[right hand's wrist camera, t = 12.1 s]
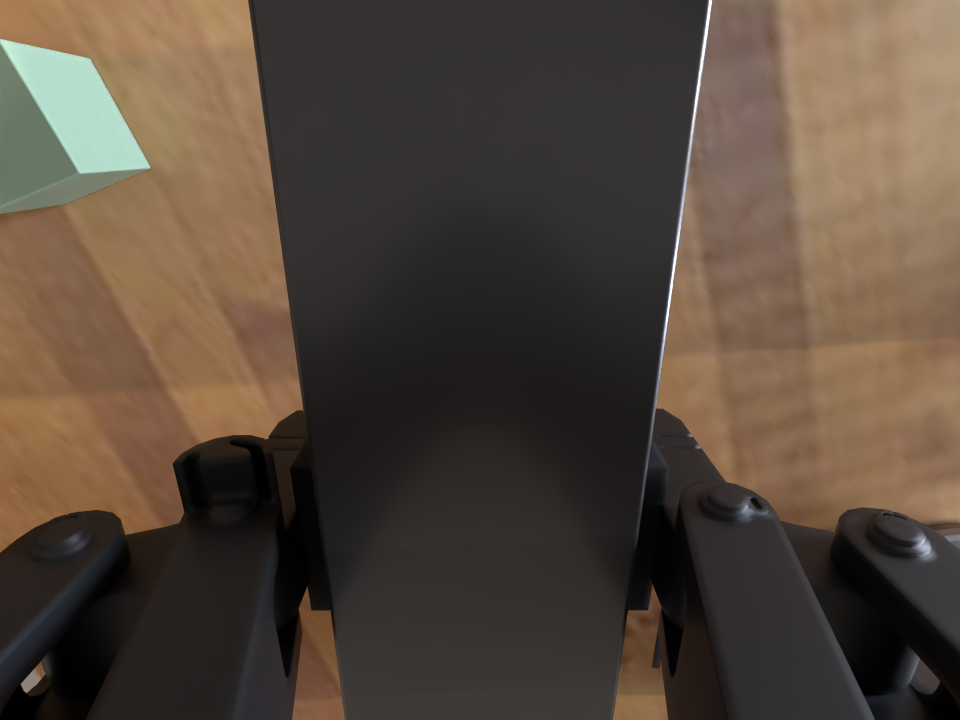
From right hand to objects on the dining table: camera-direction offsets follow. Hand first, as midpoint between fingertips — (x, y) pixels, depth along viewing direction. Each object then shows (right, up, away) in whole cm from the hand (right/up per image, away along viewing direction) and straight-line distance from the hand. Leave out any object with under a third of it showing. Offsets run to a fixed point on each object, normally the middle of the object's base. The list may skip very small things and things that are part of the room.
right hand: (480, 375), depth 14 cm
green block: (-19, +11, +11) cm, 25 cm away
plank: (0, +9, -3) cm, 9 cm away
